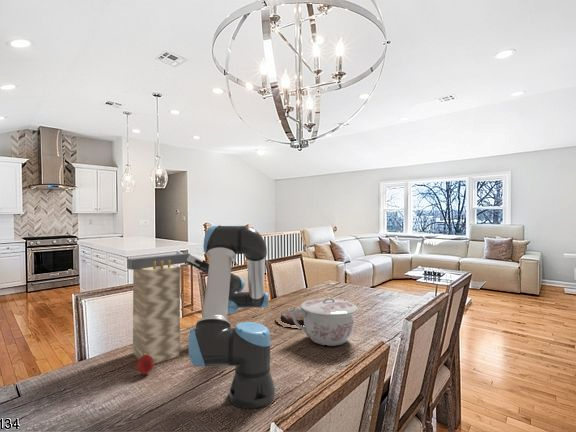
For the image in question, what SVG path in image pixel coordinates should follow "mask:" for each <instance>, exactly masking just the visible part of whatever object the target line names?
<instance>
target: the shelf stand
mask: <svg viewBox="0 0 576 432" xmlns="http://www.w3.org/2000/svg"><path fill="white" fill-rule="evenodd" d="M132 272H133V273H132V274H133V275H132V278H133V279H132V280H133V281H132V282H133V283H132V285H133V287H132V288H133V289H132V292H133V293H132V297H133V298H132V354H133V355H134V356H135V357H136V359H137V360H139V359H140V358H141V357H142V356H143V354H144V353H146V354H148V355H149V356H151V357H152V358H153V361H154V365H155V364H159V363H162V362H165V361H168V360H172V359H174V358H179V357H180V356H181V355H180V348H181V346H180V344H181V340H180V339H181V336H180V335H181V331H180V330H181V325H180V324H181V322H180V321H181V319H180V318H181V267H180V266H178V265H176V264H173V265H170V260H168V265H165V266H163V261H161V266H157V267H156V261H153V267H149V268H142V269H134V270H133V271H132Z"/></svg>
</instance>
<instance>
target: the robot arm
mask: <svg viewBox="0 0 576 432" xmlns="http://www.w3.org/2000/svg"><path fill="white" fill-rule="evenodd" d="M204 234H205V235H204V238H203V245H202V246H203V252H204V254H206V257H207V259H209V263H208V262H206V260H205V259H203V260H201V259H200V258H198V257H196V256H194V255H192V254H190V255H189V257H188V258H187V261H189V263H184V265H189V266H190V267H191V266H192V267H193V268H196V269H197V270H199V271H201V272H202V273H205V274H206V276H207V279H206V286H205V294H204V301H203V307H202V315H201V318H200V319H199V320H197V322H196V323H195V324H196V325H195V327H194V328H190V330H189V334H188V356H189V360H190V363H191V364H192V366H194V367H204V368H207V367H234V375H233V379H232V381H231V385H230V388H229V400H230V402H231V403H232V404H233V405H234V406H236V407H238V408H242V409H248V410H249V409H258V408H263V407H265V406H268V405H269V404H271V403H272V402H273V400H274V399H275V396H276V386H275V383H274V379H273V377H272V374H271V373H272V372H271V345H272V344H271V343H272V342H271V331H270V330H269V328H268V327H267V326H265V325H264V324H261V323H258V322H254V321H244V322H239V323H236V324H235V326H234V328H231V322H230V321H229V320H228V314H235V313H237V312H238V311H239V309H246V308H247V309H262V308H268V306H269V292H267V291H265V287H266V286H265V258H266V257H267V255H268V254H267V253H268V250H267V244H266V242H265V239H264V237H263V236H262V235H261V234H260V233H259V232H258V231H257V229H255V228H253V227H251V226H248V225H211V226H209V227H208V228H207V229H206V232H205V233H204ZM175 254H181V252H179V251H176V253H175ZM237 255H244V257H245V259H246V260H247V261H246V264H247V265H246V267H247V284H248V285H247V286H248V287H247V288H248V291H243V290H244V287H245V285H246V283H245V280H244V279H243V278H241V277H240V276H239V275H236V274H234V273H232V267H233V266H232V264H233V263H232V262H233V261H235V260H236V259H237ZM270 402H271V403H270Z"/></svg>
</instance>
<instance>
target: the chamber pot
mask: <svg viewBox="0 0 576 432" xmlns="http://www.w3.org/2000/svg"><path fill="white" fill-rule="evenodd" d="M301 308H302V309H301ZM358 309H359V307H358V306H357V305H356V304H355V303H353V302H350V301H346V300H344V299H338V298H332V297H326V298H323V297H321V298H313V299H309V300H306V301H303V302H302V303H301V304H300V306H299V307H298V308H296V309H295V310H294V312H293V316H292V318H293V322H294V323H295V324H296V326H297V327H299V328H300V329H299V330H302V331H303V332H304V333H305V335H306V336H307V337H309V339H310V340H311V341H312V342H313V343H316V344H319V345H322V346H325V345H327V347H334V346H340V345H344V344H345V343H346V342H347V341H348V340H349V339H350V337H351V336H352V334H353V332H354V328H355V319H356V318H355V316H354V314H355V313H356V312H357V311H358ZM298 312H302V313H303V318H304V326H305V327H303V326H301V325H299V323H298V322H297V321H296V313H298Z"/></svg>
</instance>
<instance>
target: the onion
mask: <svg viewBox="0 0 576 432" xmlns="http://www.w3.org/2000/svg"><path fill="white" fill-rule="evenodd" d="M154 365H155V364H154V361H153V358H152V357H151V356H149V355H148V354H146V353H144V354H143V356H142V357H141V358H140V359H138V361H137V363H136V368H137V370H138V372H139V373H140V374H143V375H147V374H148V373H150V372H151V371H152V370H153V369H154Z"/></svg>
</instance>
